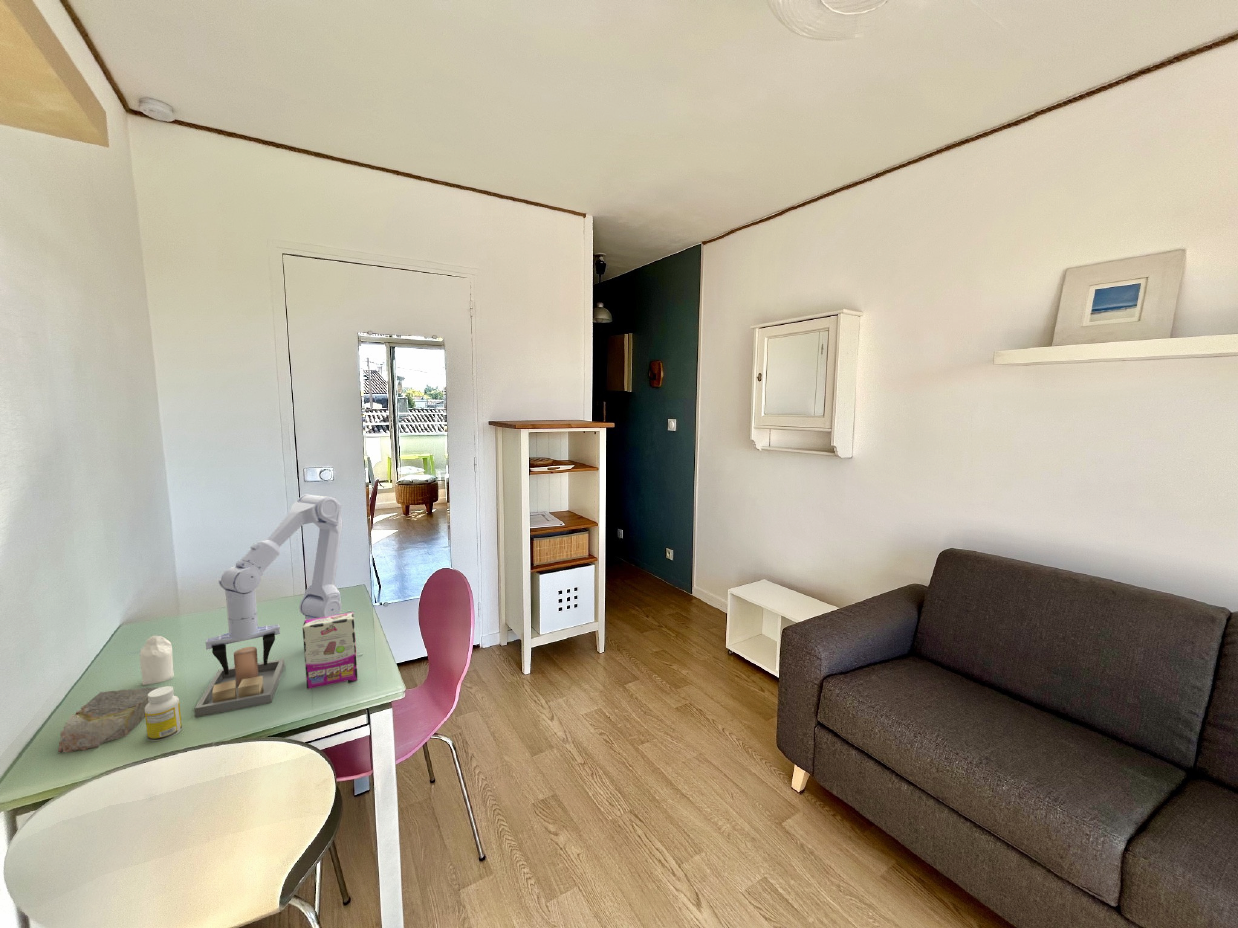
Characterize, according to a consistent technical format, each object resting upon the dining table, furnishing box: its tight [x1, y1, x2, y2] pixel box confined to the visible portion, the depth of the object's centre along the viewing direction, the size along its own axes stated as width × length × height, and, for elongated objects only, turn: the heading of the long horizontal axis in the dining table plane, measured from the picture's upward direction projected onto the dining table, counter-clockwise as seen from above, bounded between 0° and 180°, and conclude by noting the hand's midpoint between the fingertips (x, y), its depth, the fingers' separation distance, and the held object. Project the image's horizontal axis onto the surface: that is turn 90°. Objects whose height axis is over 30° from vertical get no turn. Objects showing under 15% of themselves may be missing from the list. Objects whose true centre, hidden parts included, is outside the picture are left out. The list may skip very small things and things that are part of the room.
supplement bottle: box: [144, 685, 183, 742], centre depth 106 cm, size 5×5×10 cm
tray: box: [194, 658, 286, 718], centre depth 123 cm, size 14×18×3 cm
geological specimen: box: [57, 686, 159, 753], centre depth 109 cm, size 11×6×15 cm
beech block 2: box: [238, 676, 264, 698], centre depth 120 cm, size 4×4×4 cm
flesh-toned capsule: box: [233, 646, 259, 687], centre depth 126 cm, size 5×5×8 cm
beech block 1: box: [212, 680, 237, 703], centre depth 117 cm, size 4×4×4 cm
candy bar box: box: [302, 611, 359, 690], centre depth 128 cm, size 11×5×16 cm, turn 117°
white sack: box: [139, 635, 175, 686], centre depth 127 cm, size 6×12×6 cm
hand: (246, 668), depth 126 cm, fingers open, 7 cm apart
